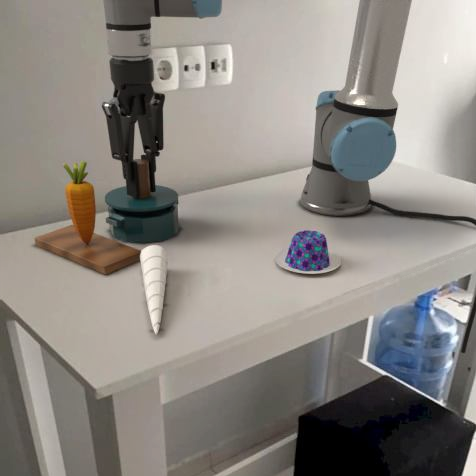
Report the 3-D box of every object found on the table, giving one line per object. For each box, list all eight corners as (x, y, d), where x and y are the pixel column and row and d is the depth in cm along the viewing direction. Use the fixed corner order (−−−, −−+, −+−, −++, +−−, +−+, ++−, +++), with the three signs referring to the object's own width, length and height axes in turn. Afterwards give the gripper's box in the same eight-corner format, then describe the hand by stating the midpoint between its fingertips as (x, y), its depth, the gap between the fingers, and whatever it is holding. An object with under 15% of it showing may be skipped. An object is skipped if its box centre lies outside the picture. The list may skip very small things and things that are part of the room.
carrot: (67, 246, 116) (54, 162, 107) (85, 237, 120) (73, 155, 111) (89, 251, 114) (77, 166, 105) (106, 242, 118) (96, 159, 109)
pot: (197, 226, 129) (196, 202, 126) (137, 251, 118) (135, 226, 116) (151, 211, 136) (149, 188, 133) (91, 233, 125) (87, 209, 122)
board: (143, 258, 116) (142, 251, 115) (105, 274, 110) (104, 266, 109) (73, 231, 126) (72, 224, 125) (35, 245, 120) (34, 237, 119)
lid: (193, 198, 124) (192, 160, 120) (140, 217, 115) (137, 177, 111) (143, 182, 131) (140, 147, 127) (89, 200, 122) (84, 162, 118)
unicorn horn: (130, 337, 93) (127, 308, 90) (141, 269, 112) (139, 243, 109) (163, 337, 93) (161, 308, 90) (168, 269, 112) (167, 243, 109)
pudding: (295, 282, 108) (297, 253, 105) (263, 256, 117) (264, 229, 114) (353, 270, 113) (357, 242, 109) (318, 246, 121) (320, 219, 118)
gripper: (108, 65, 102) (122, 208, 115) (180, 54, 112) (185, 186, 126) (78, 60, 105) (95, 199, 119) (150, 49, 116) (158, 179, 130)
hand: (141, 192), depth 123 cm, fingers closed on lid, 4 cm apart
